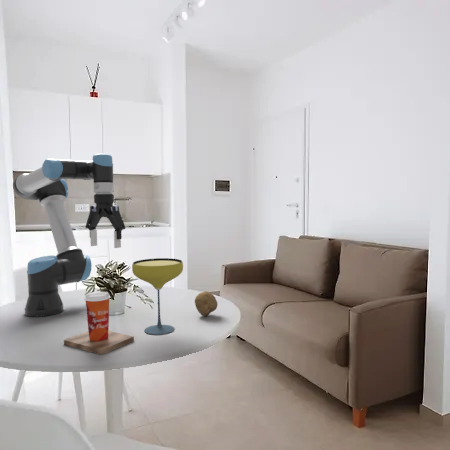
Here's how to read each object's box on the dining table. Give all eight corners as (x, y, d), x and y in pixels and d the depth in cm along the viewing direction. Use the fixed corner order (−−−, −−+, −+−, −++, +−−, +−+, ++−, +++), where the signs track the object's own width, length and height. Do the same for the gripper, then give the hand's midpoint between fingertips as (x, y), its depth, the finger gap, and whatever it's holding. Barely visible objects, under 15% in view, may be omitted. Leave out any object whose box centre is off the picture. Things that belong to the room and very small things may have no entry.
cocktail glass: (177, 320, 161) (175, 257, 159) (190, 334, 144) (188, 263, 143) (130, 325, 155) (128, 260, 153) (138, 341, 138) (136, 267, 136)
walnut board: (63, 344, 136) (63, 339, 136) (97, 332, 148) (97, 328, 148) (101, 354, 127) (101, 349, 126) (133, 340, 138) (133, 336, 138)
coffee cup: (88, 344, 132) (86, 298, 131) (84, 336, 139) (82, 292, 138) (114, 339, 135) (113, 294, 134) (109, 332, 143) (107, 290, 142)
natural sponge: (212, 311, 172) (212, 288, 172) (221, 317, 164) (220, 292, 163) (192, 314, 169) (191, 290, 168) (199, 320, 160) (199, 295, 160)
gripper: (75, 194, 166) (77, 246, 168) (119, 193, 153) (120, 249, 155) (90, 194, 173) (91, 244, 174) (133, 193, 160) (135, 247, 161)
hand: (105, 246), depth 164 cm, fingers open, 13 cm apart
